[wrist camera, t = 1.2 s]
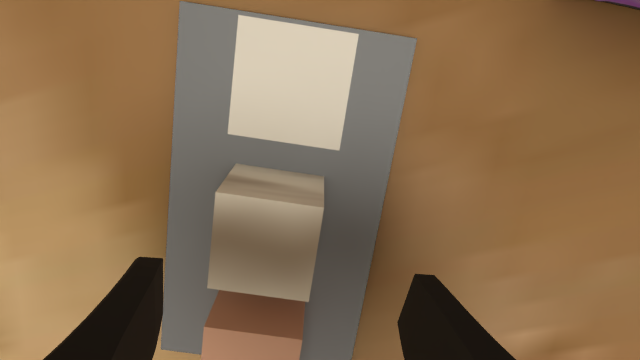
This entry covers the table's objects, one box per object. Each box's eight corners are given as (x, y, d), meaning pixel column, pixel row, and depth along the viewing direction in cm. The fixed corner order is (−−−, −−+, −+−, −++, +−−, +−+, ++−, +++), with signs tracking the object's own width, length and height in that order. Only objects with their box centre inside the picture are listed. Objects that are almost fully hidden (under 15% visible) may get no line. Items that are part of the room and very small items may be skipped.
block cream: (311, 255, 24) (308, 301, 20) (228, 244, 24) (207, 288, 20) (323, 176, 23) (324, 207, 19) (235, 163, 23) (215, 191, 19)
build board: (347, 366, 27) (348, 374, 27) (164, 342, 27) (160, 349, 26) (414, 38, 22) (417, 38, 21) (183, 1, 21) (179, 0, 21)
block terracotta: (295, 356, 26) (289, 418, 22) (217, 345, 26) (196, 406, 22) (306, 288, 25) (302, 340, 21) (224, 276, 25) (204, 326, 20)
